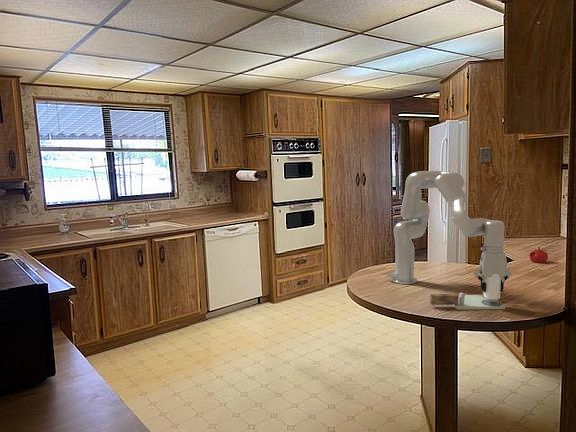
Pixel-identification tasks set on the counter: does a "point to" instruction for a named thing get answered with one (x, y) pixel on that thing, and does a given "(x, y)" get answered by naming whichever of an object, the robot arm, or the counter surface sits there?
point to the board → (477, 302)
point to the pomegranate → (538, 256)
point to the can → (493, 287)
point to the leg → (444, 299)
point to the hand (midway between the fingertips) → (491, 290)
